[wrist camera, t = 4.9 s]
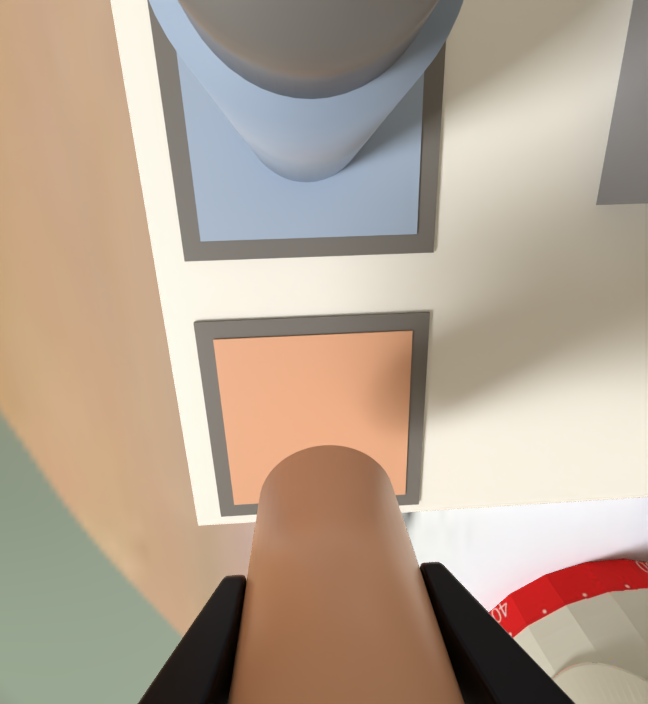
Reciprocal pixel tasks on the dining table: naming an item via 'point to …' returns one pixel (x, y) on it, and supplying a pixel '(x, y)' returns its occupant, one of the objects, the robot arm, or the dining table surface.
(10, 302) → the dining table surface
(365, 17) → the blue bottle
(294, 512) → the terracotta marker
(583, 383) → the cream board with squares
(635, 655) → the kitchen timer
